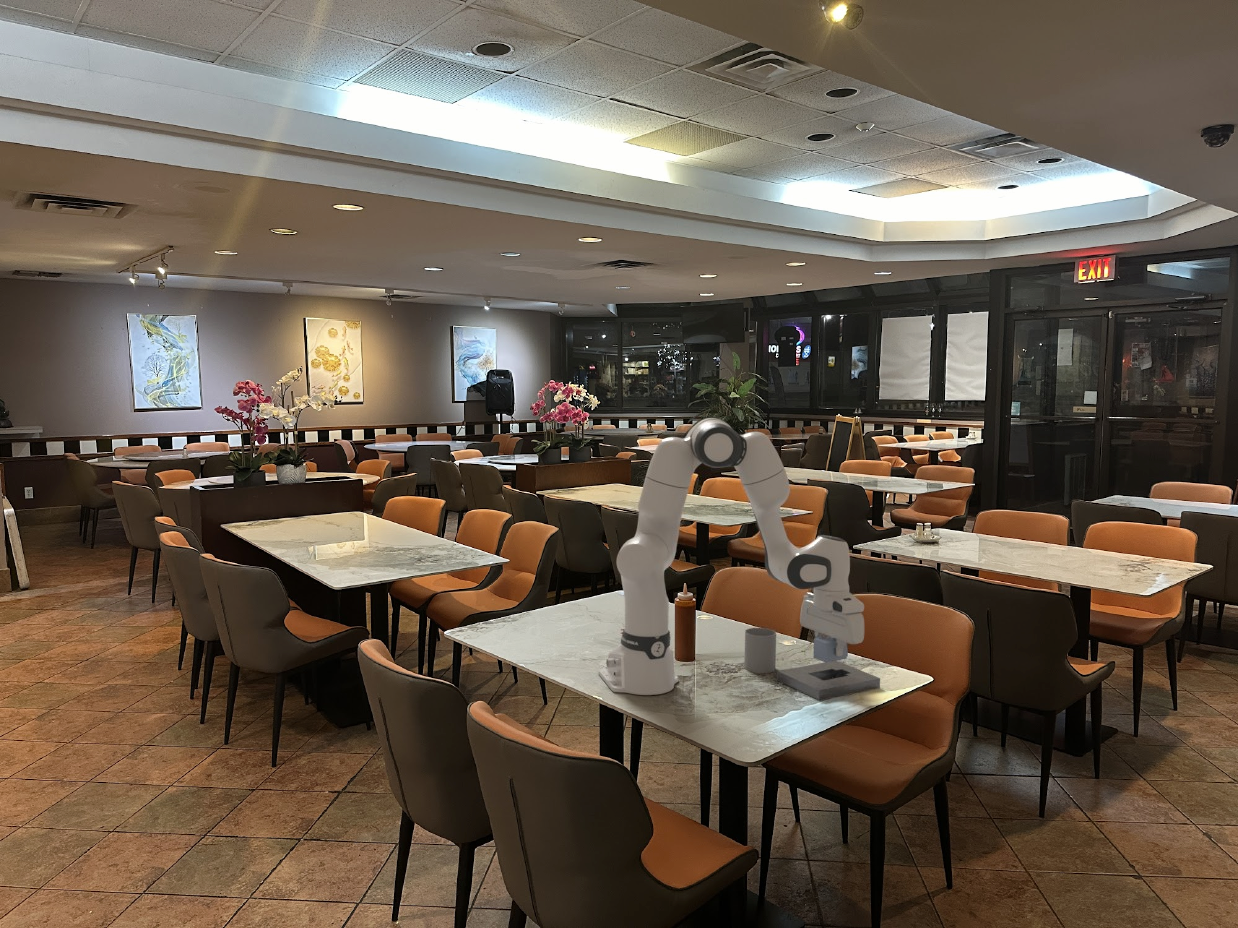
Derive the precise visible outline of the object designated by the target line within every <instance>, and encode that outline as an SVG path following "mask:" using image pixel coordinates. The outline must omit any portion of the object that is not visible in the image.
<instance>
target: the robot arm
mask: <svg viewBox="0 0 1238 928" xmlns="http://www.w3.org/2000/svg"><path fill="white" fill-rule="evenodd" d="M701 464H703V465H704V466H707V467H710V468H714V469H716V468H717V469H718V468H726V467H729V468H730V467H734V469H735V470H736V473H737V475H738V477H739V480H740V483H741V485H742V488H743V490H744V492H745V495H746V496H747V499H748V502H749V503H750V506H751V509H752V512H753V516H754V519H755V522H756V525H757V529H758V531H759V534H760V537H761V539H762V544H763V547H764V548H763V549H764V566H765V567H764V568H765V570H766V572H767V574H768V575H769V576H770V578H772V579H774V580H775V581H778V582H781V583H784V584H786V585H788V586H789V587H792V588H794V589H798V590H811V589H813V593H812V592H811V591H810V592H809V591H808V592H806V593H805V594H804V595H803V597H802V599H803V600H802V603H801V606H800V607H801V608H800V615H799V622H800V625H801V626H802V627H804V628H805V629H809V630H811V631H814V636H815V638H820V637H824V635H825V636H830V637H833V638H836V642H837V643H838V645H837V647H836V648H834V655H836V656H842V655H843V648H844V647H845V645H846V643H847V644H850V645H857V644H860V643H861V644H862V642H863V641H864V638H865V618H864V615H863V614H862V612H864V610H865V604H864V603H863V602H862V601H861V600H859V599H858V598H857V597H855V595H853V594H852V593H851V592H850V585H849V575H850V572H851V571H850V570H851V569H850V568H851V562H850V561H851V557H850V548H849V545H848V543H847V541H846V540H844V539H843V538H841V537H838V536H837V537H836V536H833V535H825V534H820V535H817V537H816V538H815V539H814V540H813V541H811V542H810V543H809V544H807V545H805V546H803V547H796V546H795V545H794V544H793V543H792V542H791V541H790V539H789V538H788V536H787V532H786V530H785V529H786V528H785V526H784V523H783V521H782V517H781V514H780V510H781V509H780V508H781V506H783V504H785V502H786V501H788V497H789V495H790V493H791V488H790V482H789V478H788V474H787V472H786V469H785V467H784V463H783V462H782V460H781V458H780V456H779V453H778V451H777V449H776V448H775V446H774V445H773V443H772V441H771V439H770V438H769V437H768V435H766V433H763V432H760V431H749V432H746V433H744V434H739V433H738V432H737V431H736V430H734V428H733V427H731V426H730V424H729V423H727V422H726V421H724V420H722V419H720V418H717V417H714V416H707V417H703V418H701V419H699V420H698V421H696V422H695V423H694V424H692V425H691V426H690V428H689V429H688V430H687V431H686V432H685V433H684V434H683V435H682V436H681V437H677V436H669V437H666V438H662V439H661V440H660V441H659V442H658V444H657V445H656V448H655V450H654V453H653V454H652V457H651V459H650V462H649V464H648V468H647V471H646V475H645V478H644V481H643V482H644V483H643V485H642V489H641V493H640V497H639V500H638V501H639V502H638V504H637V508H638V518H637V526H636V527H637V528H636V531H635V534H634V537H632V538H630V539H628V540H626V541H625V543H623V545H622V546H621V548H620V550H619V551H618V553H617V556H616V567H617V570H618V572H619V574H620V579H621V585H622V590H623V591H622V592H623V596H624V628H623V629H620V631H621V632H620V634H621V639H620V643H619V644H618V645H617V646H615V647H614V648H613V649H612V650H611V651H610V652H609V653H608V656H607V659H606V663H605V664H606V666H605V667H603V668H600V669H598V675H599V676H600V678H601V679H602V680H603V682H605V684H606V685H607V686H608V687H609V689H610V690H611V691H612V692H614V693H627V694H632V695H639V696H652V695H662V694H666V693H668V692H670V691H672V690H673V689H674V687H675V684H677V683H678V682H679V676H677V675H675V674H676V673H675V660H674V659H675V658H674V651H673V650H672V649H671V648H670V646H671V632H670V631H671V630H669V622H670V621H669V618H670V617H669V613H670V601H669V598H668V595H667V591H666V583H665V570H667V569H668V568H669V567H670V566H671V565H672V564H673V562H674V560H675V556H676V553H677V546H678V541H679V534H680V526H681V520H682V515H683V511H684V507H685V504H686V500H687V496H688V493H689V489H690V486H691V482H692V477H693V475H694V472H695V470H696V469H697V468H698V467H699V466H700V465H701Z"/></svg>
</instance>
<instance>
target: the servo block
mask: <svg viewBox="0 0 1238 928" xmlns="http://www.w3.org/2000/svg"><path fill="white" fill-rule="evenodd" d="M837 645H838V643H837V642H836V638H833V637H830V636H827V635H825V636H823V637H820V638H816V637H815V638H813V659H816V660H818V661H821V662H822V663H826V662H831V661H840V660H847V657H848V656H849V654H848V653H849V651H848V650H849V648H848V643H846V645H845V647H844V648H843V655H842V656H836V655H834V648H836V647H837Z"/></svg>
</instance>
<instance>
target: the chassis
mask: <svg viewBox="0 0 1238 928" xmlns="http://www.w3.org/2000/svg"><path fill="white" fill-rule="evenodd" d="M776 680H777V681H778V682H780V683H782V684H783V685H784V684H785V685H786V686H789V687H790V688H793V689H795V690H797V692H798V691H799V692H801V693H802V694H805V695H807V696H809V697H811V698H813V699H815V700H817V701H822V700H829V699H833V698H837V697H841V696H847V695H852V694H857V693H862V692H866V691H871V690H876V689H880V688H881V677H878V676H875V675H873V674H870V673H868V672H866V671H863V670H860V669H858V668H856V667H855V666H854V667H853V666H851V665H848V664H847V663H843V662H841V661H840V660H837V661H831V662H826V663H825V662H820V663H815V664H809V665H803V666H796V667H791V668H786V669H785V668H784V669H779V670H777V674H776Z"/></svg>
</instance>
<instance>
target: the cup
mask: <svg viewBox="0 0 1238 928" xmlns="http://www.w3.org/2000/svg"><path fill="white" fill-rule="evenodd" d="M776 651H777V631H776V630H774V629H771V628H765V627H750V628H747V629H745V631H744V658H743V659H744V660H743V661H744V666H743V667H744V669H745V670H746V671H748V672H751V673H756V674H769V673H773V672H775V671H776V659H777V657H776V656H777V655H776V654H777V653H776Z"/></svg>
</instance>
